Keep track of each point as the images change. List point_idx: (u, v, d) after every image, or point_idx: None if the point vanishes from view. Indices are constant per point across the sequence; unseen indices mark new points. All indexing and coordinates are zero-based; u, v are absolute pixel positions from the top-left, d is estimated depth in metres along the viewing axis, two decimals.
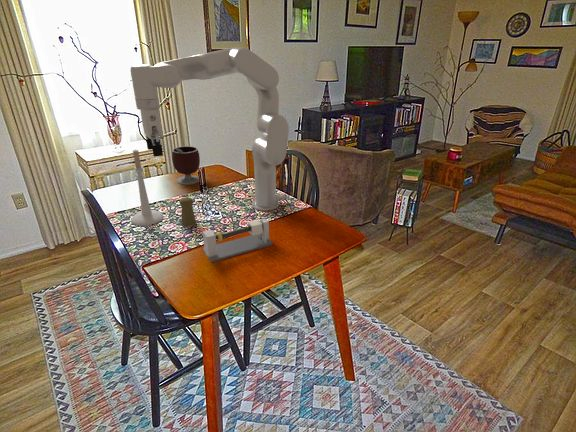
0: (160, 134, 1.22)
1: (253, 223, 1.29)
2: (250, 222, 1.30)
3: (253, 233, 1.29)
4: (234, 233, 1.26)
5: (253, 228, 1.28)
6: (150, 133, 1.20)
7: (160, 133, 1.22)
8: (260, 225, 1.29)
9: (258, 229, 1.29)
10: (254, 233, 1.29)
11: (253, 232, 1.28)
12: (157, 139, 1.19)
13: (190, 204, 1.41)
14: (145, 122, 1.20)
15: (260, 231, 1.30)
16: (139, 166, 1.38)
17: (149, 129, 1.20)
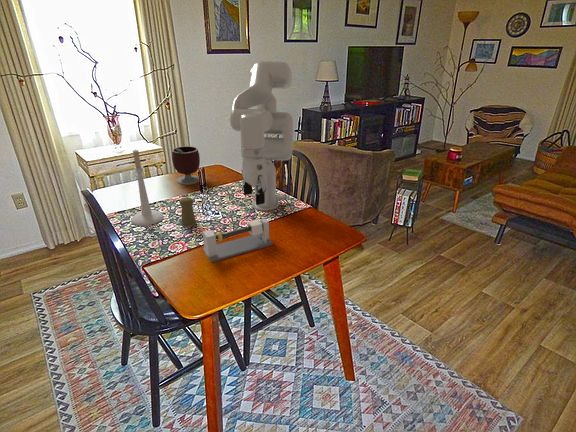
0: (264, 182, 1.19)
1: (253, 223, 1.29)
2: (250, 222, 1.30)
3: (253, 233, 1.29)
4: (234, 233, 1.26)
5: (253, 228, 1.28)
6: (255, 182, 1.17)
7: (264, 182, 1.19)
8: (260, 225, 1.29)
9: (258, 229, 1.29)
10: (254, 233, 1.29)
11: (253, 232, 1.28)
12: (264, 189, 1.16)
13: (190, 204, 1.41)
14: (251, 171, 1.16)
15: (260, 231, 1.30)
16: (139, 166, 1.38)
17: (255, 178, 1.16)
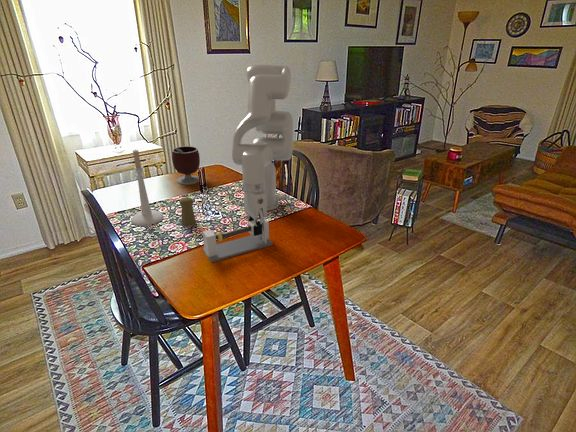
0: (265, 215, 1.24)
1: (253, 223, 1.29)
2: (250, 222, 1.30)
3: (253, 233, 1.29)
4: (234, 233, 1.26)
5: (253, 228, 1.28)
6: None
7: (265, 214, 1.24)
8: None
9: None
10: None
11: (253, 232, 1.28)
12: (261, 223, 1.24)
13: (190, 204, 1.41)
14: (252, 205, 1.22)
15: None
16: (139, 166, 1.38)
17: (256, 212, 1.22)
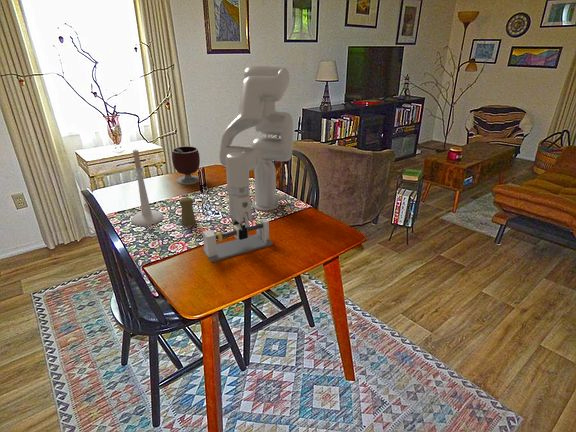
0: (250, 219, 1.22)
1: (238, 227, 1.26)
2: (235, 226, 1.27)
3: (238, 237, 1.26)
4: (234, 233, 1.26)
5: (238, 232, 1.25)
6: None
7: (250, 218, 1.21)
8: None
9: None
10: None
11: (238, 236, 1.26)
12: (246, 227, 1.21)
13: (190, 204, 1.41)
14: (237, 208, 1.19)
15: None
16: (139, 166, 1.38)
17: (241, 215, 1.19)
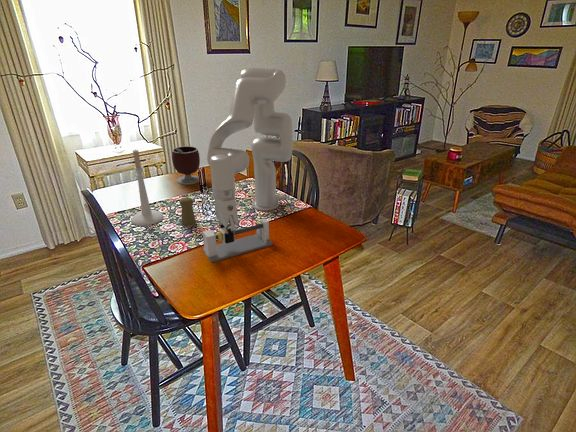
0: (236, 222, 1.19)
1: None
2: (222, 229, 1.24)
3: (224, 241, 1.23)
4: (234, 233, 1.26)
5: (224, 235, 1.22)
6: (226, 225, 1.18)
7: (236, 221, 1.19)
8: None
9: None
10: None
11: (224, 240, 1.23)
12: (232, 231, 1.19)
13: (190, 204, 1.41)
14: (222, 211, 1.17)
15: None
16: (139, 166, 1.38)
17: (226, 219, 1.17)
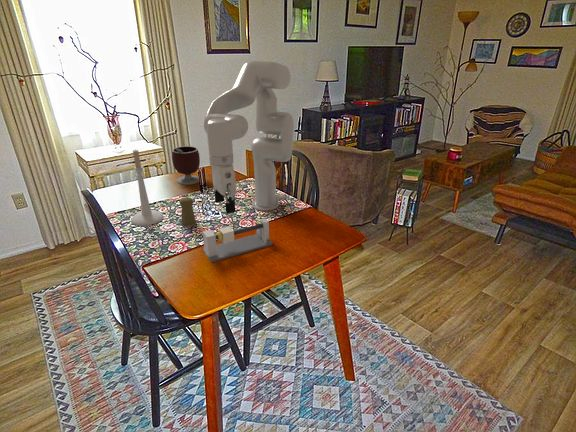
0: (234, 191, 1.14)
1: (224, 230, 1.24)
2: (221, 229, 1.24)
3: (224, 241, 1.23)
4: (234, 233, 1.26)
5: (224, 235, 1.22)
6: (224, 191, 1.12)
7: (234, 190, 1.14)
8: (232, 232, 1.24)
9: (230, 237, 1.24)
10: (225, 241, 1.24)
11: (224, 240, 1.23)
12: (233, 198, 1.11)
13: (190, 204, 1.41)
14: (219, 179, 1.12)
15: (232, 238, 1.25)
16: (139, 166, 1.38)
17: (224, 187, 1.12)
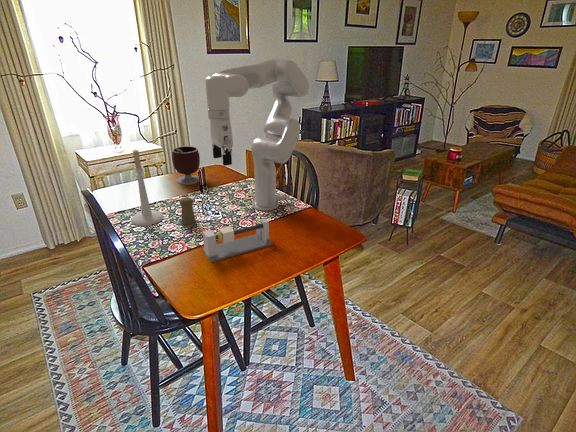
0: (231, 144, 1.24)
1: (224, 230, 1.24)
2: (221, 229, 1.24)
3: (224, 241, 1.23)
4: (234, 233, 1.26)
5: (224, 235, 1.22)
6: (222, 143, 1.22)
7: (231, 143, 1.24)
8: (232, 232, 1.24)
9: (230, 237, 1.24)
10: (225, 241, 1.24)
11: (224, 240, 1.23)
12: (229, 149, 1.21)
13: (190, 204, 1.41)
14: (217, 132, 1.22)
15: (232, 238, 1.25)
16: (139, 166, 1.38)
17: (221, 139, 1.22)
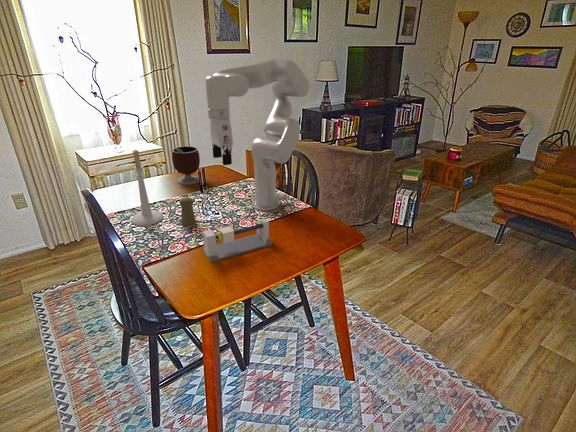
0: (230, 143, 1.24)
1: (224, 230, 1.24)
2: (221, 229, 1.24)
3: (224, 241, 1.23)
4: (234, 233, 1.26)
5: (224, 235, 1.22)
6: (222, 142, 1.22)
7: (231, 142, 1.24)
8: (232, 232, 1.24)
9: (230, 237, 1.24)
10: (225, 241, 1.24)
11: (224, 240, 1.23)
12: (229, 148, 1.21)
13: (190, 204, 1.41)
14: (217, 132, 1.22)
15: (232, 238, 1.25)
16: (139, 166, 1.38)
17: (221, 138, 1.22)
